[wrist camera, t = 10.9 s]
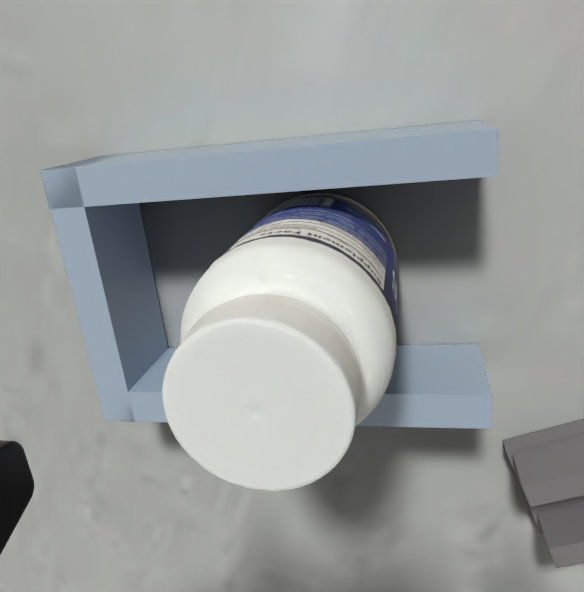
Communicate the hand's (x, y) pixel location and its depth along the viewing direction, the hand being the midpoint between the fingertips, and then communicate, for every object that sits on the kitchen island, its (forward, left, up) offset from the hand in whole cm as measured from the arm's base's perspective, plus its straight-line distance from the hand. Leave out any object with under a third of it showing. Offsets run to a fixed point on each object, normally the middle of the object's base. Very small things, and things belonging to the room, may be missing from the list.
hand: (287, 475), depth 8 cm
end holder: (+2, +1, -12) cm, 12 cm away
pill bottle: (+1, +1, -12) cm, 12 cm away
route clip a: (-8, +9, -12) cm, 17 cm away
